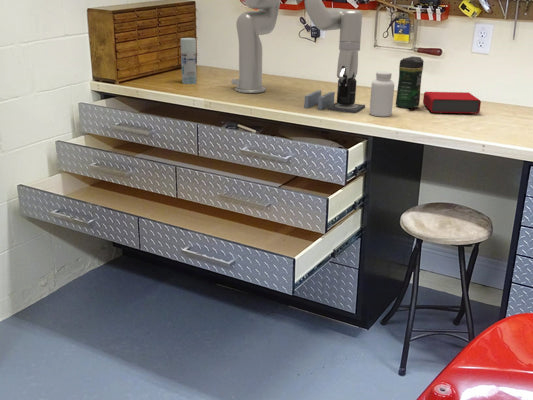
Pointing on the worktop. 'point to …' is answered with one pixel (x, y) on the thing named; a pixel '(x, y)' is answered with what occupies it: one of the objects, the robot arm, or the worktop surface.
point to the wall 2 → (326, 100)
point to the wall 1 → (312, 99)
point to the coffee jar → (409, 82)
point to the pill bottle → (382, 95)
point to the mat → (346, 108)
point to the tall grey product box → (188, 60)
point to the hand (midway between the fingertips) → (346, 94)
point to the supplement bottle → (351, 92)
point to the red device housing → (451, 102)
